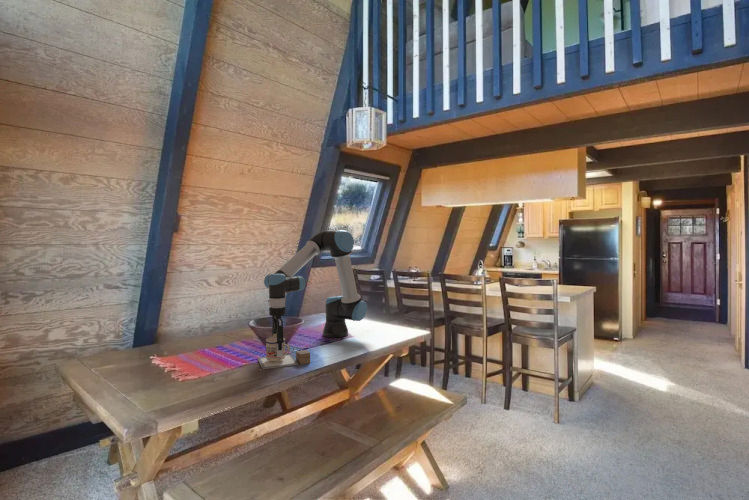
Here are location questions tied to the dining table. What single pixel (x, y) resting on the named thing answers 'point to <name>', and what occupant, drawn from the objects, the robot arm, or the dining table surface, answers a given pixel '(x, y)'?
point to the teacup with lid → (274, 349)
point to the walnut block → (303, 357)
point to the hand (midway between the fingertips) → (277, 353)
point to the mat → (277, 362)
